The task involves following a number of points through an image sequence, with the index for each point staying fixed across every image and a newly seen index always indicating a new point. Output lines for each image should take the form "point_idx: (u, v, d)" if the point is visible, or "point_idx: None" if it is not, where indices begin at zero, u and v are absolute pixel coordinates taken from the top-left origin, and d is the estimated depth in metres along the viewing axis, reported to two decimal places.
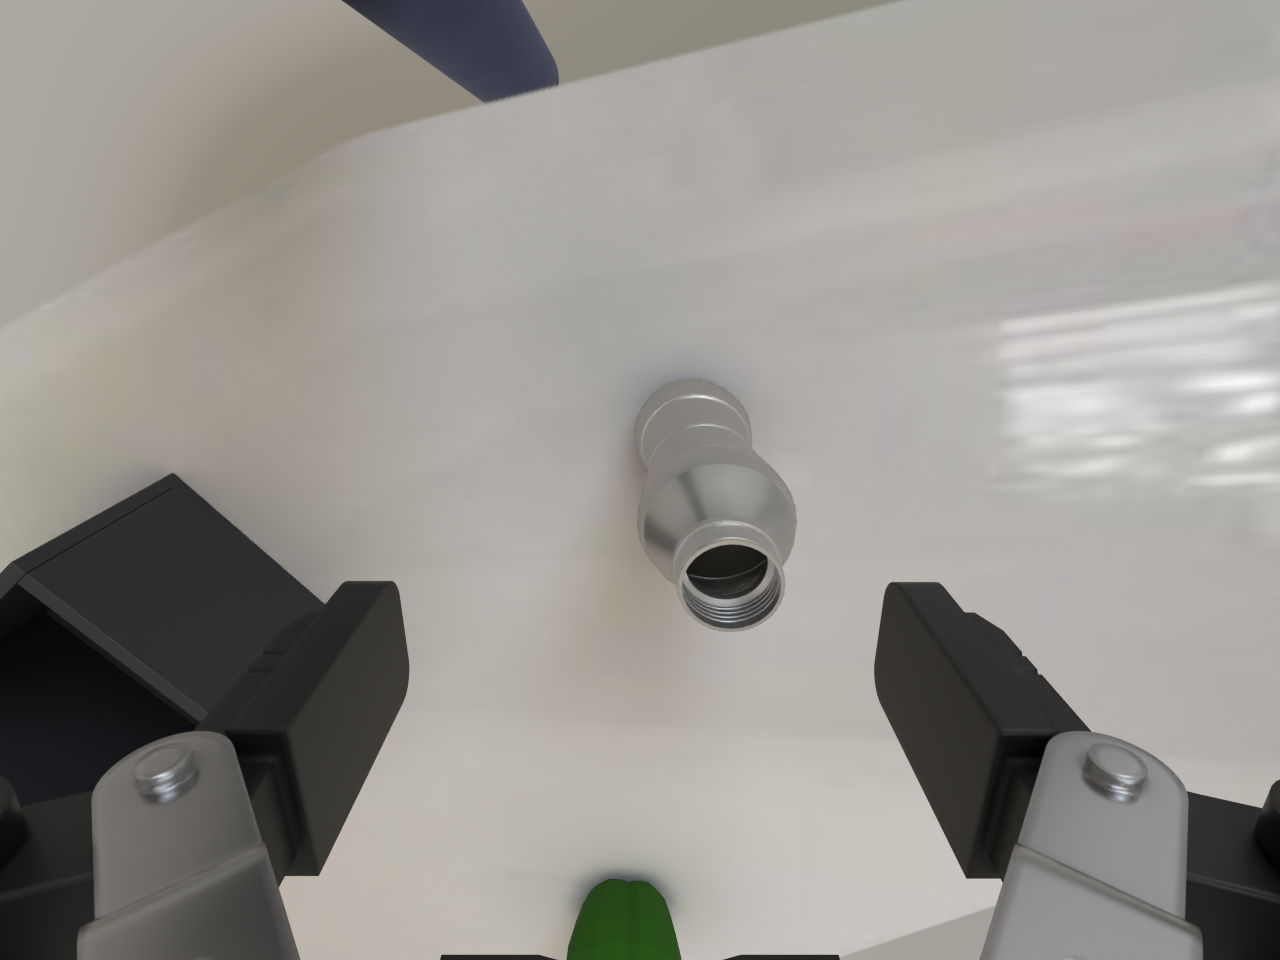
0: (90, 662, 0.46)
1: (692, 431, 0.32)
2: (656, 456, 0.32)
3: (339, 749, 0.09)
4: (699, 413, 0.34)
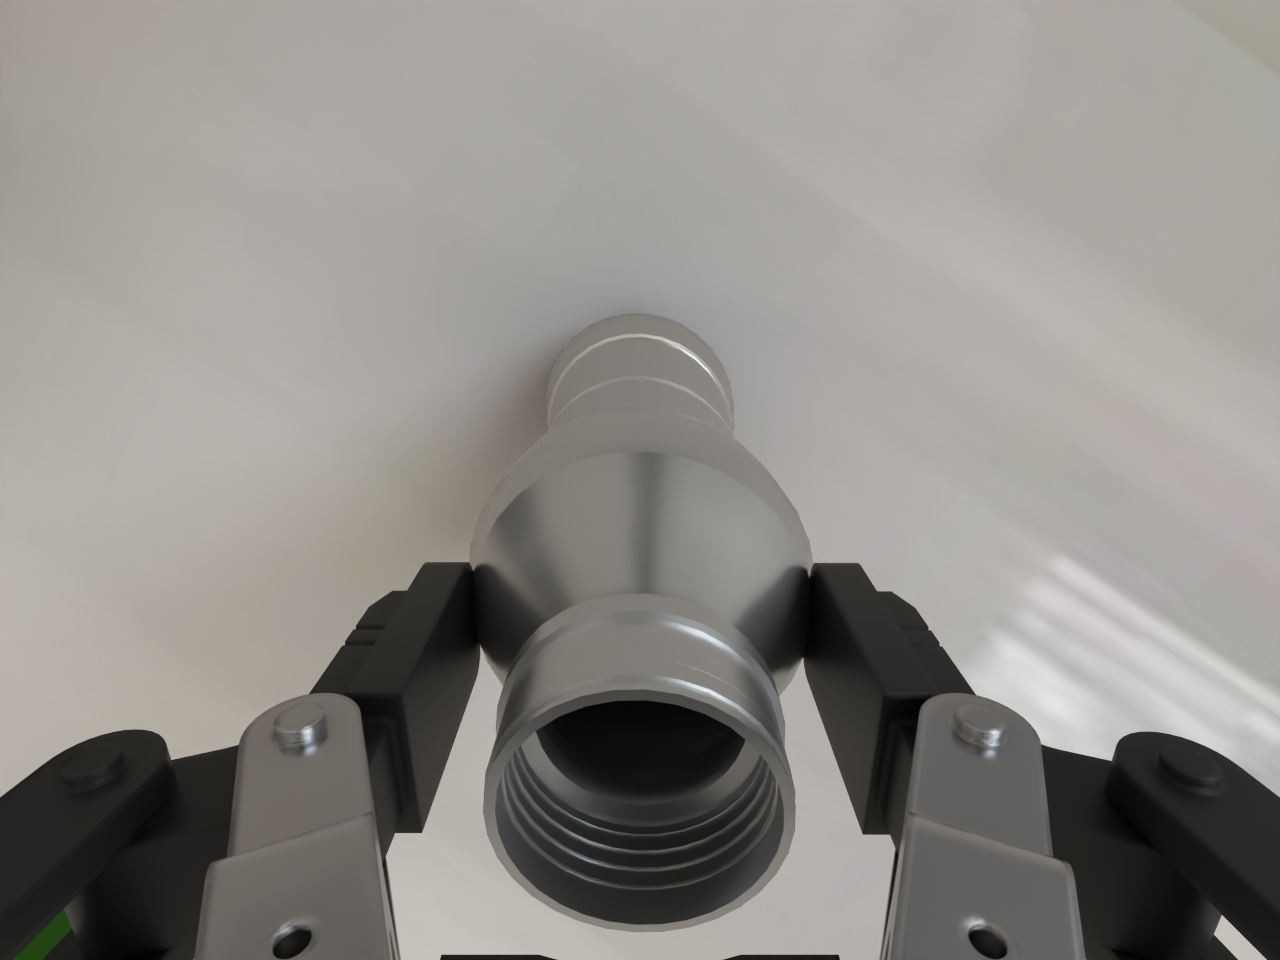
0: None
1: (690, 399, 0.16)
2: (603, 393, 0.16)
3: (434, 716, 0.10)
4: (698, 384, 0.19)
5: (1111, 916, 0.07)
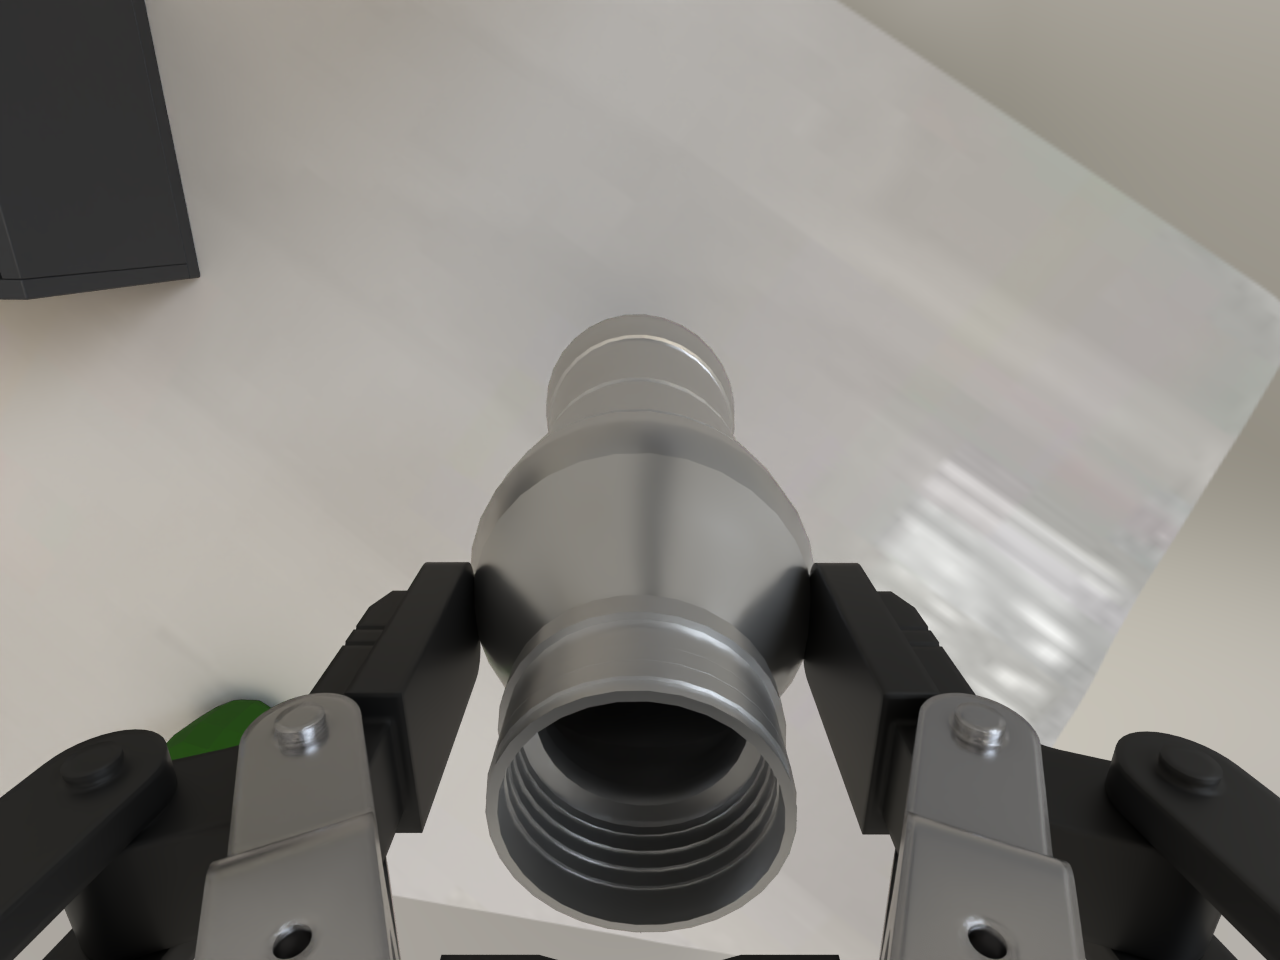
0: None
1: (691, 400, 0.16)
2: (604, 394, 0.16)
3: (434, 716, 0.10)
4: (699, 385, 0.19)
5: (1111, 916, 0.07)
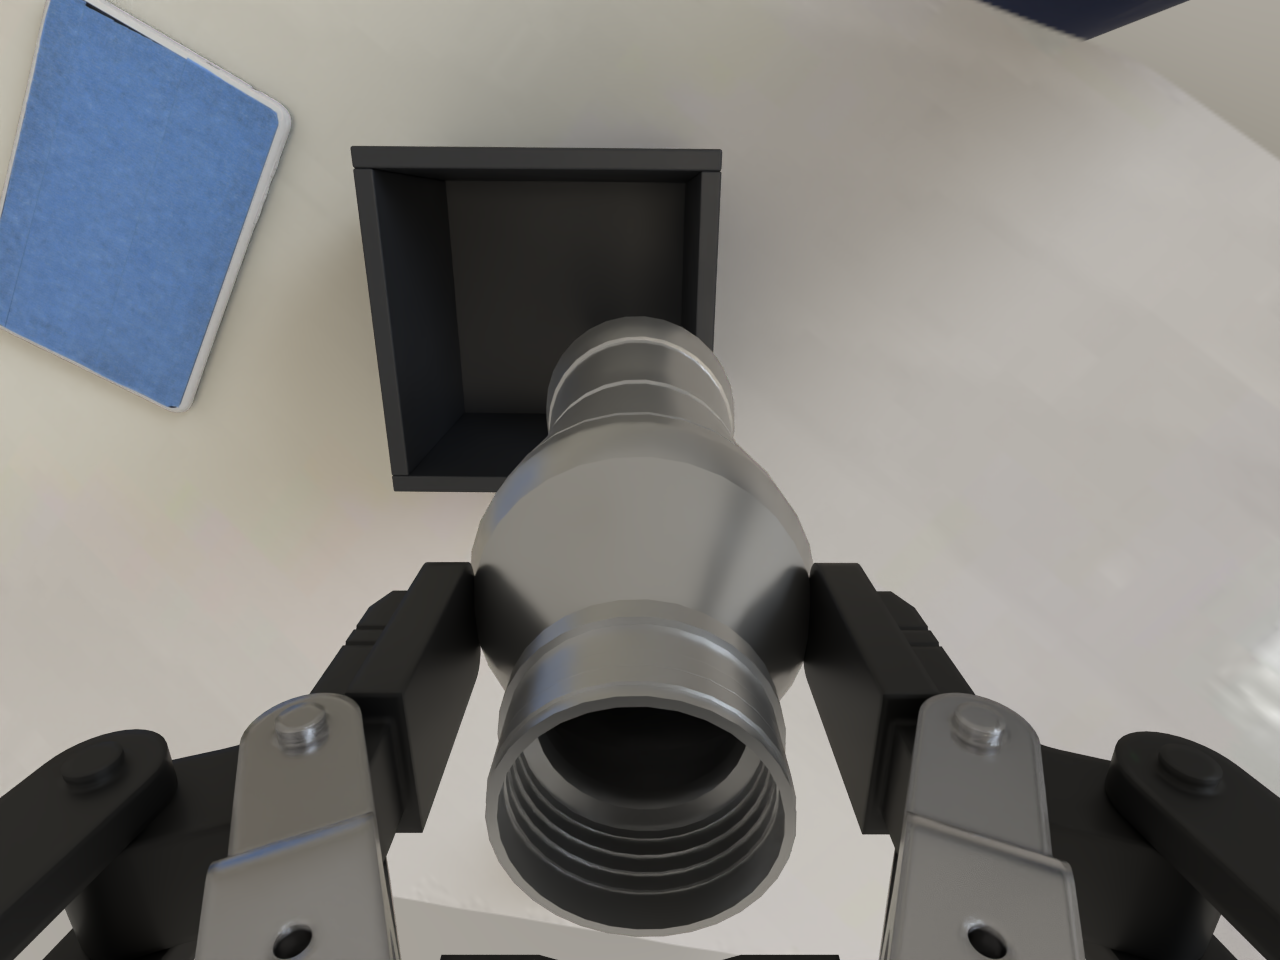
0: (448, 263, 0.38)
1: (690, 402, 0.16)
2: (604, 397, 0.16)
3: (435, 716, 0.10)
4: (699, 387, 0.19)
5: (1110, 916, 0.07)
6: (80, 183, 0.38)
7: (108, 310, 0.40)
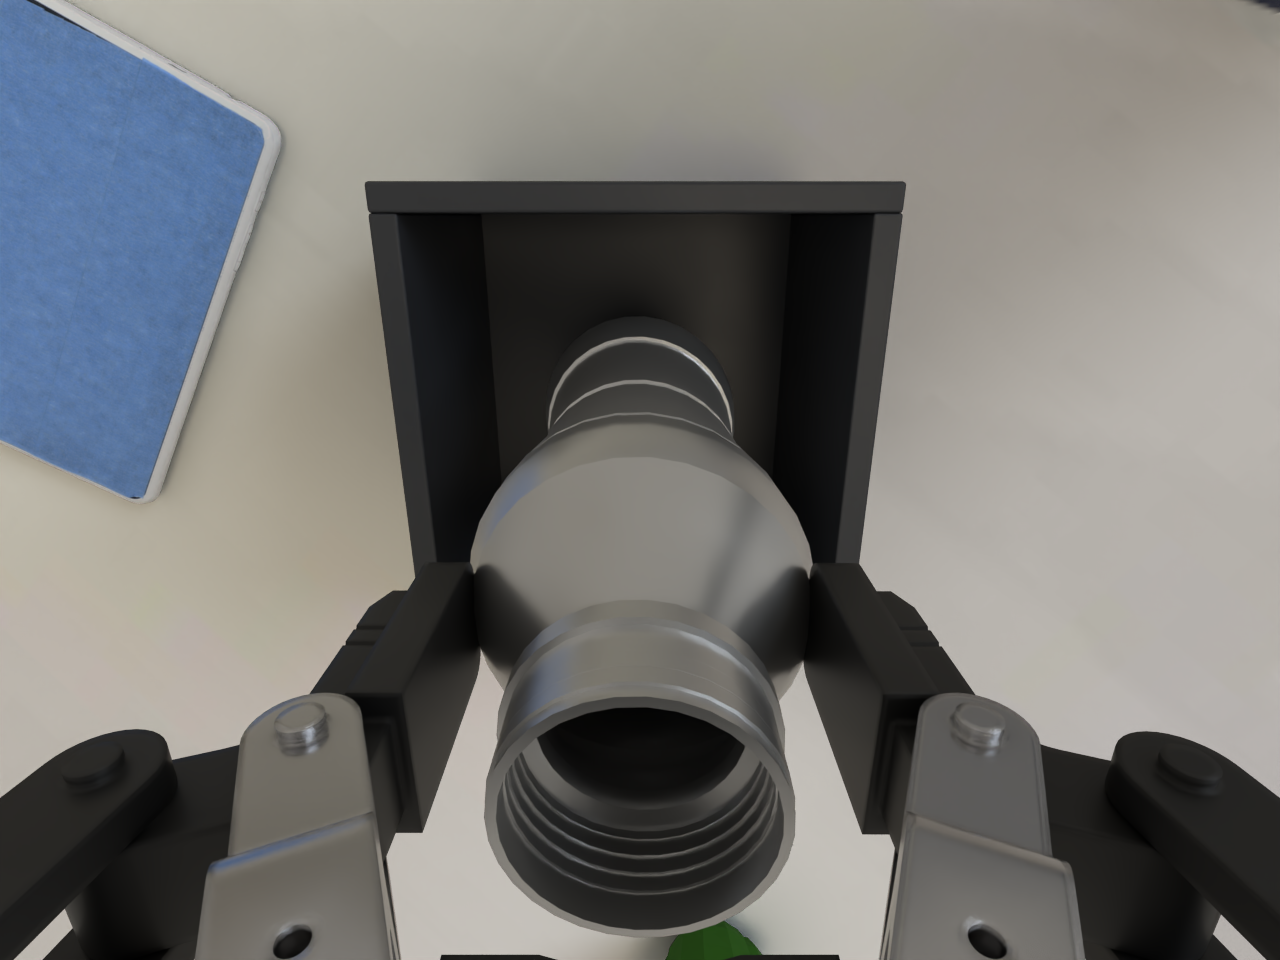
0: (485, 320, 0.30)
1: (690, 403, 0.16)
2: (603, 397, 0.16)
3: (435, 717, 0.10)
4: (699, 387, 0.19)
5: (1110, 916, 0.07)
6: (7, 222, 0.29)
7: (50, 381, 0.31)
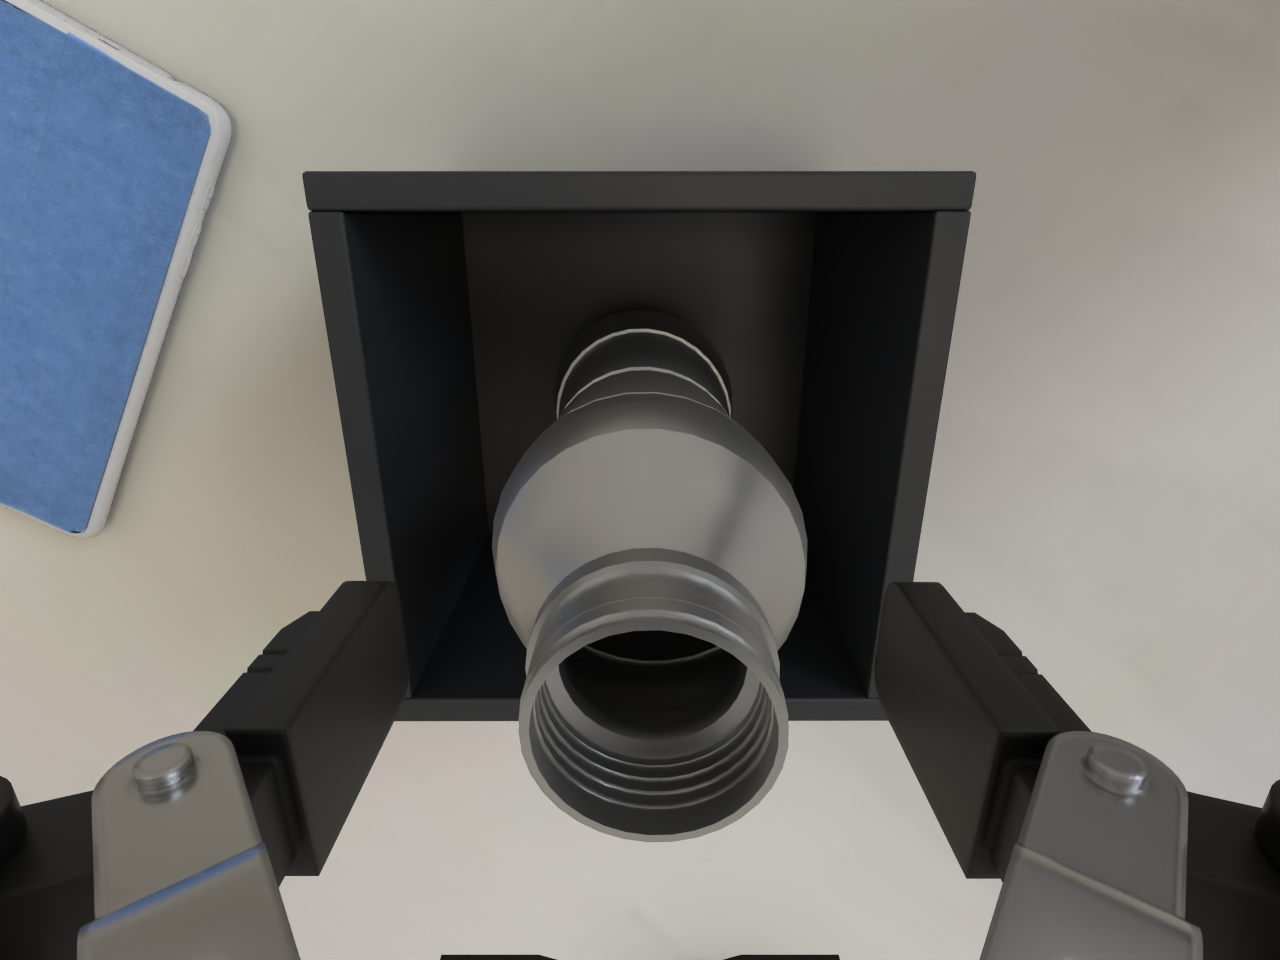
0: (466, 334, 0.26)
1: (692, 387, 0.17)
2: (612, 381, 0.17)
3: (338, 749, 0.09)
4: (700, 375, 0.20)
5: None
6: None
7: None
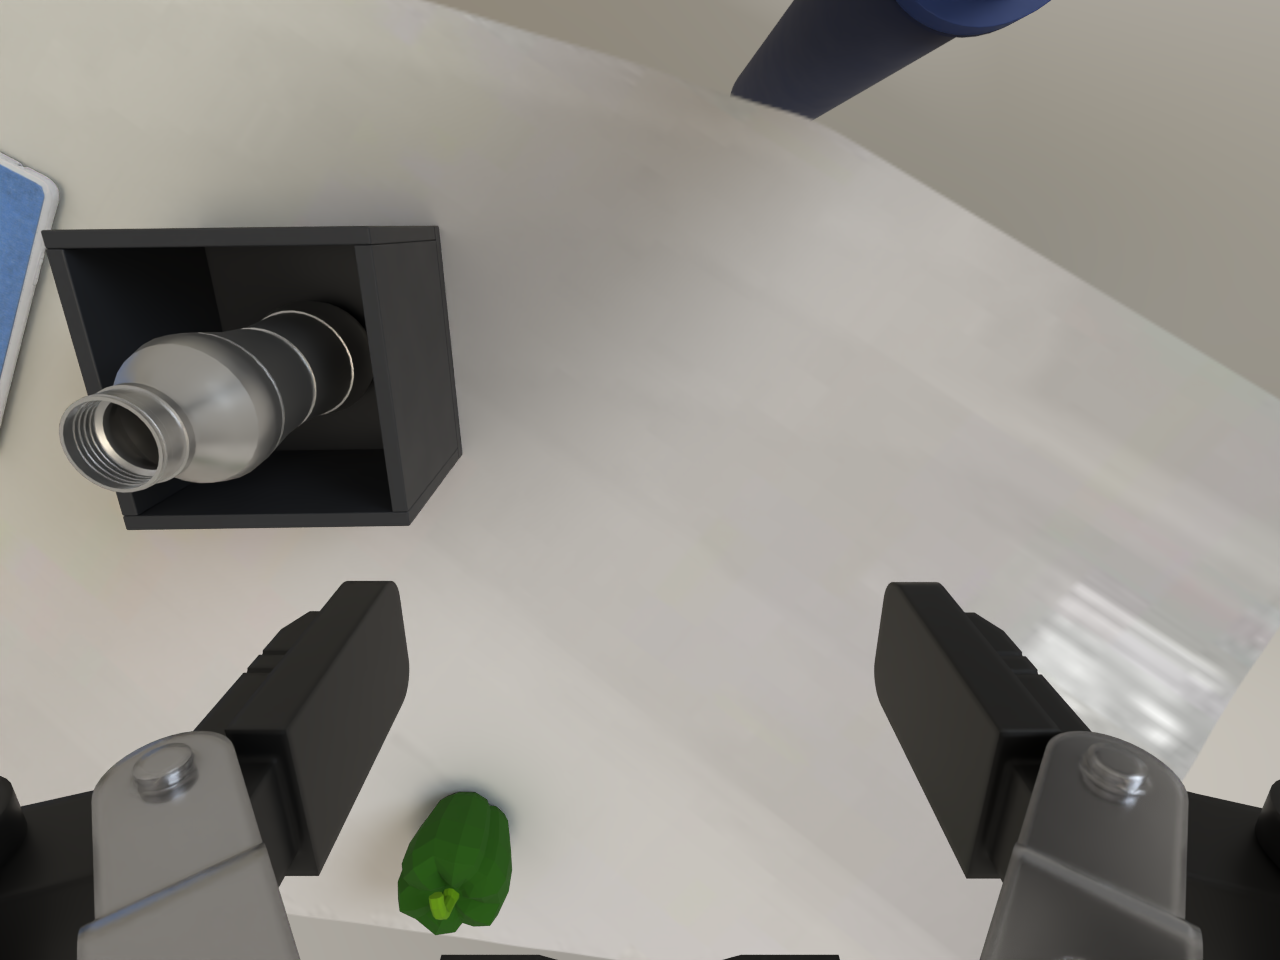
0: (211, 317, 0.42)
1: (262, 336, 0.33)
2: None
3: (338, 749, 0.09)
4: (301, 334, 0.36)
5: None
6: None
7: None
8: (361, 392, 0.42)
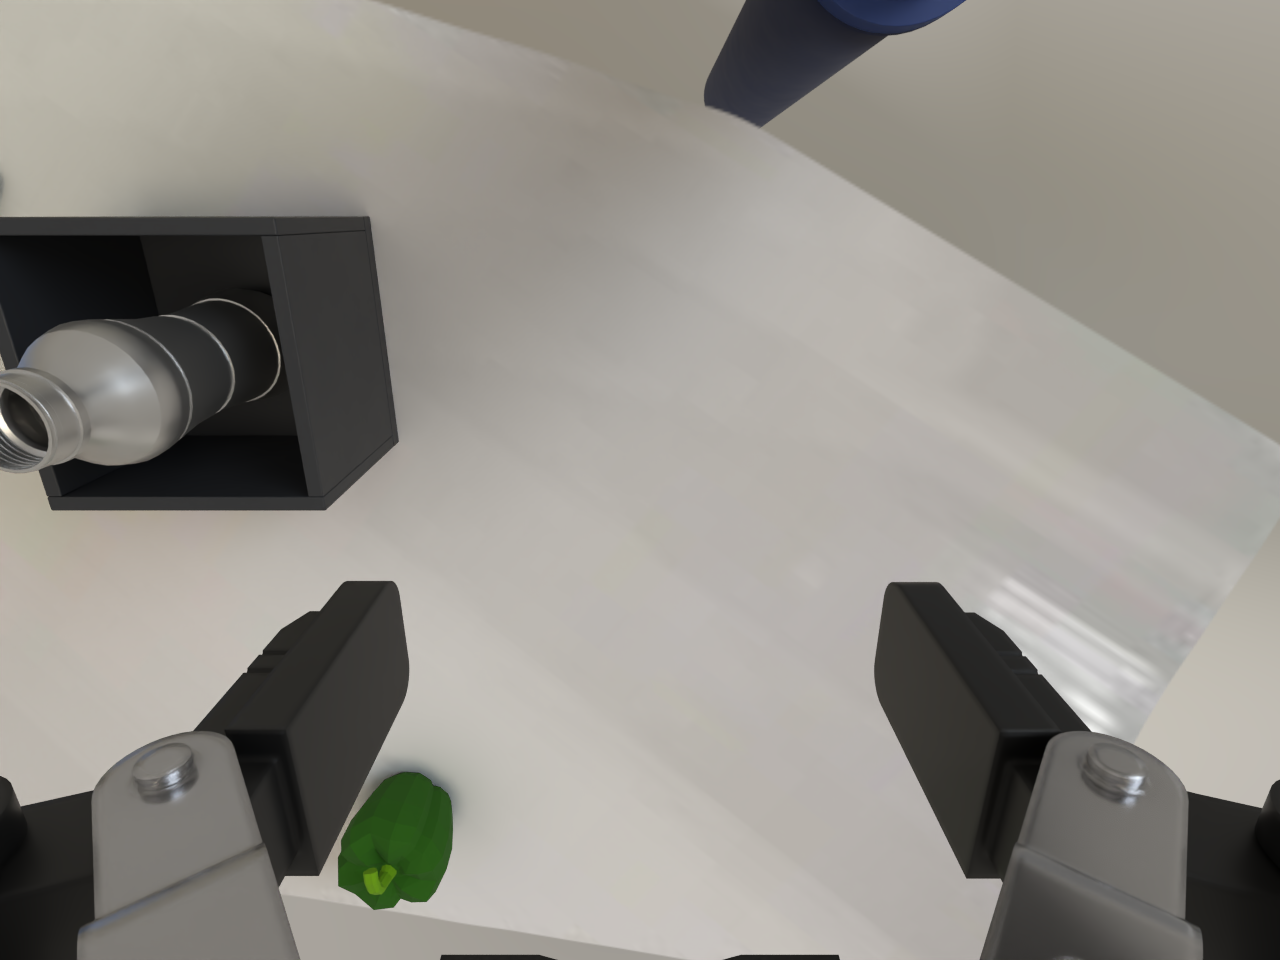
0: (146, 304, 0.43)
1: (177, 323, 0.34)
2: None
3: (338, 748, 0.09)
4: (221, 321, 0.37)
5: None
6: None
7: None
8: None
